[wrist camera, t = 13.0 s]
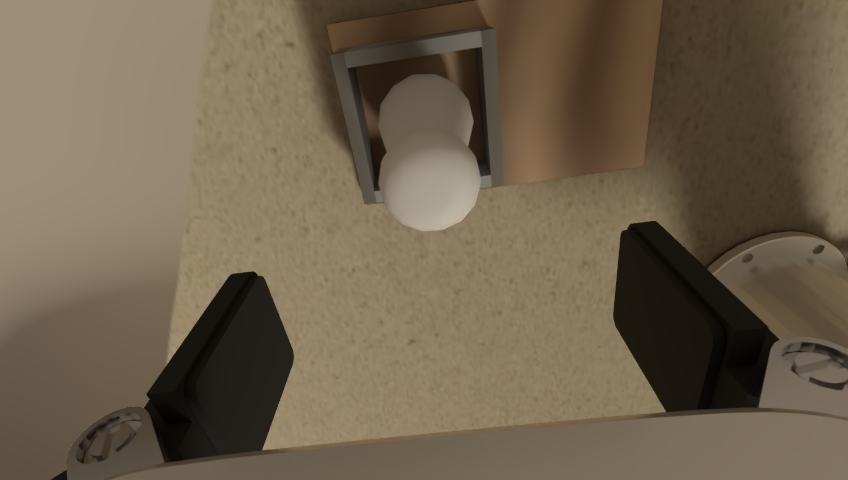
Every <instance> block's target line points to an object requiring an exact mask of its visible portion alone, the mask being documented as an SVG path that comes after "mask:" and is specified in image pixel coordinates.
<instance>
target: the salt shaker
mask: <svg viewBox="0 0 848 480" xmlns="http://www.w3.org/2000/svg"><path fill="white" fill-rule="evenodd" d="M473 122H474V121H473V116H472V112H471V108H470V104H469V100H468V99H467V97H466V96H465V95H464V93H463V92H462V91H461V90H460V88H459V87H458V86H457V84H456V83H455V82H453V81H450V80H448V79H446V78H443V77H441V76H438V75H436V74H412V75H411V76H409V77H407V78H406V79H404V80H402V81H401V82H399V83H397V84H396V85H394V86H393V87H392V88H391V90H390V91H389V93H388V94H387V96H386V97H385V99H384V100H383V101H382V103H381V105H380V114H379V122H378V127H379V130H380V134H381V137H382V140H383V143H384V146H385V149H386V152H387V153H386V154H385V156H384V157H383V159H382V161H381V168H380V176H379V183H378V184H379V188H380V191H381V194H382V197H383V200H384V203H385V206H386V209H387V210H388V211H389V212H390V213H391V214H392V215H393V216H394V217H395V218H396V219H397V220H398V221H399V222H400V223H401V224H404V225H406V226H409V227H412V228H414V229H417V230H419V231H432V230H443V229H445V228H448V227H450V226H452V225H454V224H456V223H458V222H461V221H462V220H463V219H464V217H465V216H466V215H467V214H468V213H469V211H470V210H471V209H472V208H473V207H474V206H475V203H476V199H477V196H478V192H479V188H480V184H481V177H480V172H479V168H478V164H477V160H476V157H475V155H474V154H473V152H472V151H471V150H470V149H469V147H468V145H469V140H470V136H471V131H472V126H473Z"/></svg>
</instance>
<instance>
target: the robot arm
mask: <svg viewBox="0 0 848 480" xmlns="http://www.w3.org/2000/svg"><path fill="white" fill-rule="evenodd" d="M613 317H614V323H615V326H616V328H617V330H618V331H619V333H620V335H621V336H622V338H623V340H624V341H625V343H626V345H627V346H628V348H629V350H630V351H631V353H632V355H633V357H634V358H635V360H636V362H637V363H638V365H639V367H640V368H641V370H642V372H643V373H644V375H645V377H646V378H647V380H648V382H649V383H650V385H651V387H652V388H653V390H654V392H655V394H656V395H657V397H658V399H659V400H660V402H661V404H662V405H663V407H664V409H665V410H666V412H663V413H650V414H637V415H624V416H613V417H602V418H591V419H580V420H569V421H558V422H547V423H536V424H525V425H514V426H503V427H493V428H483V429H472V430H462V431H451V432H441V433H430V434H420V435H410V436H400V437H389V438H379V439H369V440H359V441H350V442H340V443H330V444H320V445H311V446H301V447H291V448H281V449H271V450H262V449H263V446H264V443H265V441H266V438H267V435H268V432H269V429H270V426H271V424H272V421H273V418H274V415H275V412H276V410H277V407H278V404H279V401H280V398H281V396H282V393H283V390H284V387H285V384H286V382H287V379H288V376H289V373H290V370H291V368H292V365H293V360H294V354H293V349H292V347H291V344H290V342H289V339H288V336H287V334H286V331H285V329H284V326H283V324H282V321H281V319H280V316H279V314H278V311H277V309H276V306H275V304H274V301H273V299H272V296H271V294H270V291H269V288H268V286H267V283H266V281H265V279H264V278H263V276H258V275H257V274H256V273H255V272H253V271H252V272H244V273H236V274H231V275H230V276H229V277H228V279H227V280H226V281H225V283H224V284H223V286H222V287H221V289H220V290H219V291H218V293H217V294H216V296H215V297H214V299H213V300H212V301H211V303H210V304H209V306H208V307H207V309H206V310H205V311H204V313H203V314H202V316H201V317H200V318H199V320H198V321H197V323H196V324H195V326H194V327H193V328H192V330H191V331H190V333H189V334H188V336H187V337H186V338H185V340H184V341H183V343H182V344H181V346H180V347H179V348H178V350H177V351H176V353H175V354H174V356H173V357H172V358H171V360H170V361H169V363H168V364H167V366H166V367H165V368H164V370H163V371H162V373H161V374H160V376H159V377H158V378H157V380H156V381H155V383H154V384H153V386H152V387H151V388H150V390H149V391H148V393H147V396H148V397H149V399H150V400H149V401H148V403H147V404H146V406H145V407H144V408H142V407H139V406H136V407H126V408H122V409H119V410H116V411H114V412H112V413H110V414H107V415H105V416H104V417H102V418H101V419H99V420H97V421H96V422H94V423H93V424H92V425H91V426H89V427H88V428H87V429H86V430H85V431H83V432H82V433H81V435H80V436H79V437H78V438H77V439H76V440H75V441H74V443H73V444H72V446H71V448H70V450H69V452H68V454H67V460H66V467H67V470H66V471H64V472H63V473H61V474H59V475H58V476H56V477H54V478H53V479H52V480H848V273H847V264H846V261H845V259H844V256H843V255H842V254H841V252H840V251H839V250H838V248H836V247H835V246H833V245H832V244H830V243H829V242H827V241H826V240H824V239H822V238H820V237H818V236H816V235H813V234H809V233H804V232H790V231H787V232H779V233H771V234H768V235H764V236H761V237H757V238H754V239H752V240H750V241H747V242H745V243H742V244H740V245H738V246H737V247H735V248H733V249H732V250H730V251H728V252H726V253H725V254H724V255H722V256H721V257H720V258H718V259H717V260H716V261H714V262H713V263H712V264H711V265H710V266H709V267H708V268H707V269H706V268H705V267H704V266H703V265H702V264H701V263H700V262H699V261H698V260H697V259H696V258H695V257H694V256H693V255H692V254H691V253H689V252H688V251H687V250H686V249H685V248H684V247H683V246H682V245H681V244H680V243H679V242H678V241H677V240H676V239H675V238H674V237H672V236H671V235H670V234H669V233H668V232H667V231H666V230H665V229H664V228H663V227H662V226H661V225H660V224H659V223H657V222H656V221H650V222H642V223H634V224H630V225H629V227H628V229H627V230H623V231H622V233H621V237H620V248H619V258H618V269H617V280H616V290H615V301H614V312H613Z"/></svg>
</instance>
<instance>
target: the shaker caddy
mask: <svg viewBox="0 0 848 480" xmlns="http://www.w3.org/2000/svg"><path fill="white" fill-rule="evenodd" d="M662 6H663V0H473V1H467V2H461V3H455V4H449V5H443V6H436V7H430V8H424V9H418V10H412V11H406V12H400V13H394V14H388V15H382V16H375V17H369V18H363V19H357V20H351V21H345V22H339V23H333V24H328V25H326V26H327V31H328V35H329V39H330V44H331V48H332V52H333V53H332V54H331V55H330V58H331V62H332V67H333V71H334V75H335V79H336V84H337V88H338V92H339V96H340V101H341V105H342V109H343V113H344V118H345V122H346V126H347V131H348V135H349V139H350V143H351V148H352V152H353V156H354V160H355V165H356V169H357V173H358V178H359V182H360V186H361V190H362V195H363V199H364V203H365V204H368V205H371V204H378V203H384V200H383V197H382V194H381V191H380V188H379V184H378V183H379V176H380V168H381V161H382V159H383V157H384V156H385V154H386V153H387V152H386V149H385V146H384V143H383V140H382V137H381V134H380V130H379V127H378V122H379V114H380V105H381V103H382V101H383V100H384V99H385V97H386V96H387V94H388V93H389V91H390V90H391V88H392V87H393V86H394V85H396V84H397V83H399V82H401V81H402V80H404V79H406V78H407V77H409V76H411V75H412V74H436V75H438V76H441V77H443V78H446V79H448V80H450V81H453V82H455V83H456V84H457V86H458V87H459V88H460V90H461V91H462V92H463V93H464V95H465V96H466V97H467V99H468V100H469V104H470V108H471V112H472V116H473V121H474V122H473V126H472V131H471V136H470V140H469V145H468V147H469V149H470V150H471V151H472V152H473V154H474V155H475V157H476V160H477V164H478V168H479V172H480V177H481V184H480V188H479V189H486V188H493V187H500V186H508V185H515V184H522V183H529V182H536V181H544V180H551V179H558V178H565V177H573V176H580V175H587V174H594V173H601V172H609V171H616V170H623V169H630V168H637V167H644V158H645V150H646V141H647V133H648V124H649V116H650V107H651V99H652V90H653V82H654V73H655V65H656V56H657V48H658V39H659V31H660V23H661V14H662Z"/></svg>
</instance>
